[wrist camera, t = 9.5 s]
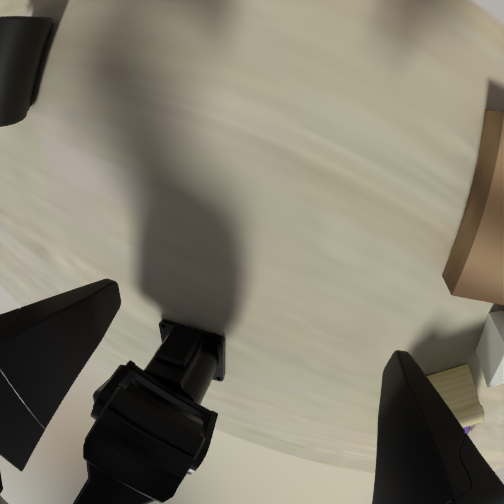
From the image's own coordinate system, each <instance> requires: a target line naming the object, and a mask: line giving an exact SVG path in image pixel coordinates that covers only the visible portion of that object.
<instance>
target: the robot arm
mask: <svg viewBox="0 0 504 504" xmlns="http://www.w3.org/2000/svg"><path fill="white" fill-rule="evenodd" d="M120 305H121V298H120V293H119V287H118V284H117V282H116V281H113V280H110V279H103V280H100V281H97V282H94V283H91V284H88V285H85V286H82V287H79V288H76V289H73V290H70V291H67V292H64V293H61V294H59V295H56V296H53V297H50V298H47V299H44V300H41V301H38V302H35V303H32V304H30V305H27V306H24V307H21V308H20V309H15V310H13V311H9V312H6V313H3V314H0V455H1V456H2V457H3V458H5V459H6V460H7V461H8V462H10V463H11V464H12V465H13V466H15V467H16V468H18V469H19V470H20V471H22V470H23V469H24V468H25V466H26V464H27V462H28V460H29V458H30V456H31V454H32V452H33V450H34V448H35V447H36V445H37V443H38V441H39V440H40V438H41V436H42V434H43V432H44V431H45V429H46V427H47V425H48V424H49V422H50V420H51V419H52V417H53V415H54V413H55V412H56V410H57V409H58V407H59V405H60V404H61V402H62V400H63V398H64V397H65V395H66V394H67V392H68V391H69V389H70V387H71V386H72V384H73V383H74V381H75V380H76V378H77V377H78V375H79V373H80V372H81V370H82V369H83V367H84V366H85V364H86V363H87V361H88V360H89V358H90V357H91V355H92V354H93V352H94V351H95V349H96V348H97V346H98V345H99V343H100V342H101V340H102V338H103V337H104V335H105V333H106V331H107V329H108V328H109V326H110V324H111V322H112V320H113V319H114V317H115V315H116V313H117V312H118V310H119V308H120ZM159 328H160V333H161V339H162V344H161V346H160V347H159V348H158V350H157V351H156V353H155V355H154V357H153V358H152V359H151V361H150V362H149V364H148V365H147V367H146V368H145V370H142V369H141V368H139V367H138V366H136V365H135V363H134V362H132V361H131V360H130V361H129V362H128V363H127V364H126V365H120V366H119V367H118V368H117V370H116V371H115V372H114V374H113V375H112V376H111V377H110V379H108V380H107V381H106V382H105V383H104V384H103V385H102V386H101V387H99V388H98V389H97V390H96V391H95V393H94V394H93V399H94V405H93V410H92V413H91V417H93V418H94V419H95V420H96V421H95V423H94V425H93V426H92V428H91V430H90V431H89V433H88V435H87V437H86V438H85V443H84V446H83V447H84V448H83V457H84V459H85V460H86V462H87V471H88V480H87V481H86V483H85V484H84V486H83V488H82V489H81V491H80V493H79V494H78V496H77V498H76V500H75V501H74V503H73V504H148V503H150V502H153V501H158V502H160V503H163V502H165V501H166V500H168V499H170V498H172V497H173V496H174V494H175V492H176V490H177V488H178V486H179V485H180V483H181V482H182V480H183V479H184V477H185V476H186V474H192V473H193V472H195V470H196V469H197V468H198V467H199V466H200V464H201V463H202V461H203V459H204V458H205V456H206V453H207V451H208V448H209V445H210V442H211V438H212V434H213V431H214V427H215V423H216V420H217V416H218V413H216V412H214V411H210V410H208V409H207V408H205V407H203V406H201V405H200V404H201V402H202V400H203V398H204V395H205V393H206V391H207V389H208V387H209V385H210V383H211V381H212V379H213V380H217V381H223V379H224V371H225V339H224V338H223V337H222V336H220V335H216V334H212V333H209V332H205V331H201V330H198V329H194V328H191V327H187V326H184V325H180V324H177V323H174V322H170V321H167V320H161V322H160V323H159ZM218 340H219V341H218ZM2 490H3V486H2V481H1V473H0V493H1V492H2ZM0 504H8V503H7V502H6V501H5V500H4V499H3V498H2V497H1V496H0ZM372 504H504V484H503V483H502V482H501V480H500V479H499V478H498V476H497V475H496V474H495V472H494V471H493V470H492V468H491V467H490V466H489V465H488V463H487V462H486V461H485V459H484V458H483V456H482V455H481V454H480V452H479V451H478V449H477V448H476V447H475V445H474V444H473V442H472V441H471V439H470V438H469V436H468V435H467V433H465V430H464V429H463V427H462V426H461V424H460V423H459V421H458V420H457V418H456V417H455V415H454V414H453V413H452V411H451V410H450V408H449V407H448V405H447V404H446V403H445V401H444V400H443V398H442V397H441V396H440V394H439V393H438V391H437V390H436V389H435V387H434V386H433V384H432V383H431V382H430V380H429V379H428V378H427V376H426V375H425V374H424V372H423V371H422V370H421V368H420V367H419V366H418V364H417V363H416V362H415V360H414V359H413V358H412V356H411V355H410V354H409V353H408V352H406V351H400V350H396V351H395V352H394V353H393V354H392V356H391V358H390V360H389V361H388V363H387V365H386V366H385V368H384V371H383V376H382V387H381V397H380V405H379V414H378V435H377V457H376V471H375V483H374V493H373V501H372Z"/></svg>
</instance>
